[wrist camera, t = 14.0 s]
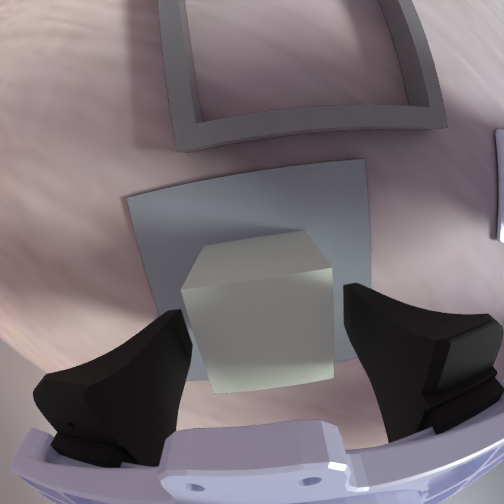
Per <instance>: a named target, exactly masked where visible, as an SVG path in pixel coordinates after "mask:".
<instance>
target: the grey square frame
mask: <svg viewBox="0 0 504 504" xmlns="http://www.w3.org/2000/svg"><path fill="white" fill-rule="evenodd" d="M379 3H380V5H381V8H382V11H383V13H384V16H385V18H386V21H387V24H388V27H389V30H390V33H391V36H392V39H393V42H394V45H395V49H396V52H397V56H398V59H399V63H400V67H401V71H402V75H403V79H404V83H405V88H406V92H407V97H408V102H409V106H403V105H329V106H312V107H300V108H289V109H280V110H272V111H264V112H257V113H250V114H244V115H238V116H232V117H226V118H221V119H216V120H211V121H206V122H203V121H202V115H201V109H200V102H199V96H198V90H197V83H196V77H195V70H194V64H193V57H192V50H191V43H190V36H189V28H188V21H187V13H186V6H185V0H158V11H159V23H160V34H161V44H162V53H163V62H164V70H165V78H166V86H167V93H168V100H169V107H170V114H171V120H172V127H173V133H174V139H175V145H176V151H177V152H185V153H189V152H193V151H198V150H203V149H207V148H212V147H218V146H223V145H228V144H234V143H240V142H246V141H252V140H259V139H266V138H273V137H281V136H289V135H298V134H307V133H318V132H331V131H347V130H371V129H417V130H430V129H441V128H447V121H446V115H445V109H444V104H443V99H442V94H441V89H440V85H439V81H438V77H437V73H436V69H435V65H434V61H433V58H432V55H431V51H430V48H429V45H428V42H427V39H426V36H425V33H424V30H423V27H422V25H421V22H420V20H419V17H418V14H417V12H416V10H415V7H414V5H413V3H412V0H379Z"/></svg>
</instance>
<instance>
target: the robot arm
mask: <svg viewBox="0 0 504 504" xmlns="http://www.w3.org/2000/svg"><path fill="white" fill-rule="evenodd" d="M495 136H496V145H497V156H498V174H499V211H498V229H497V240H498V241H499V242H501V243H504V130H503V129H497V130H496V133H495ZM343 316H344V327H345V330H346V332H347V335H348V338H349V341H350V343H351V345H352V347H353V348H354V350H355V352H356V354H357V356H358V358H359V360H360V362H361V364H362V365H363V367H364V369H365V371H366V373H367V375H368V377H369V379H370V382H371V384H372V387H373V390H374V392H375V395H376V398H377V401H378V404H379V408H380V411H381V414H382V418H383V421H384V425H385V429H386V433H387V437H388V441H389V443H388V444H385V445H382V446H378V447H371V448H362V449H353V450H345V447H344V444H343V440H342V436H341V434H340V432H339V430H338V427H337V426H336V425H333V424H330V423H327V422H324V421H321V420H294V421H288V422H280V423H272V424H263V425H253V426H241V427H223V428H193V429H187V430H180V431H176V424H177V417H178V409H179V404H180V400H181V396H182V393H183V389H184V386H185V382H186V379H187V375H188V371H189V368H190V364H191V357H192V349H193V344H192V341H191V338H190V335H189V332H188V329H187V326H186V323H185V320H184V317H183V314H182V310H181V309H176V310H168V311H166V312H165V313H163V314H162V315H161V316H159V317H158V318H157V319H155V320H154V321H153V322H152V323H150V324H149V325H148V326H147V327H145V328H144V329H143V330H142V331H140V332H139V333H137V334H136V335H135V336H133V337H132V338H131V339H129V340H128V341H126V342H125V343H123V344H122V345H120V346H119V347H117V348H115V349H114V350H112V351H110V352H108V353H106V354H104V355H102V356H100V357H98V358H96V359H94V360H92V361H89V362H87V363H84V364H82V365H79V366H76V367H73V368H70V369H66V370H62V371H58V372H54V373H49V374H46V375H45V376H44V377H43V379H42V380H41V381H40V382H39V384H38V385H37V386H36V388H35V389H34V391H33V398H34V401H35V403H36V406H37V407H38V409H39V410H40V411H41V413H42V414H43V415H44V417H45V418H46V419H47V420H48V422H49V423H50V424H51V425H52V426H53V427H54V429H55V430H56V431H57V434H56V436H55V437H53V436H52V435H50V434H49V433H46V432H44V431H41V430H38V429H35V428H31V429H30V431H29V432H28V434H27V436H26V437H25V439H24V441H23V442H22V444H21V446H20V447H19V449H18V451H17V453H16V454H15V456H14V458H13V460H12V462H11V463H10V465H9V468H10V469H11V470H12V471H13V472H14V473H15V474H16V475H18V476H19V477H20V478H21V479H22V480H23V481H25V482H26V483H27V484H28V485H30V486H31V487H32V488H33V489H35V490H36V491H37V492H39V493H40V494H41V495H43V496H44V497H45V498H47V499H48V500H50V501H52V502H54V503H56V504H438V503H440V502H442V501H444V500H446V499H447V498H449V497H451V496H452V495H454V494H455V493H457V492H459V491H461V490H462V489H464V488H465V487H467V486H468V485H470V484H471V483H473V482H474V481H476V480H477V479H479V478H480V477H481V476H483V475H484V474H486V473H487V472H488V471H490V470H491V469H492V468H494V467H495V466H496V465H498V464H499V463H500V462H502V461H503V460H504V377H503V378H502V379H501V380H500V382H498V380H497V379H496V378H495V376H496V375H497V371H496V369H495V368H494V367H493V364H494V362H495V360H496V357H497V354H498V352H499V349H500V347H501V343H502V339H503V329H502V326H501V325H500V324H499V323H498V322H497V321H496V320H495V319H494V318H493V317H491V316H490V315H489V314H471V315H464V314H450V313H442V312H436V311H430V310H426V309H422V308H418V307H415V306H411V305H408V304H405V303H402V302H400V301H397V300H395V299H392V298H390V297H388V296H385V295H383V294H381V293H379V292H377V291H374V290H372V289H370V288H368V287H366V286H364V285H361V284H359V283H351V284H345V285H343Z"/></svg>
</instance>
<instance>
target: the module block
mask: <svg viewBox="0 0 504 504" xmlns="http://www.w3.org/2000/svg"><path fill="white" fill-rule="evenodd" d="M181 293H182V297H183V300H184V303H185V307H186V310H187V314H188V317H189V320H190V323H191V327H192V330H193V333H194V336H195V339H196V342H197V345H198V348H199V351H200V354H201V357H202V360H203V363H204V366H205V369H206V372H207V375H208V378H209V380H210V383H211V386H212V389H213V391H214V394H219V393H233V392H244V391H254V390H263V389H271V388H279V387H286V386H293V385H299V384H305V383H311V382H316V381H321V380H326V379H331V378H334V300H333V275H332V267H331V265H330V264H329V263H328V261H327V260H326V258H325V257H324V256H323V254H322V253H321V251H320V250H319V249H318V247H317V246H316V245H315V243H314V242H313V241H312V239H311V238H310V237H309V235H308V234H307V232H306V231H305V230H302V231H295V232H289V233H282V234H275V235H269V236H262V237H255V238H249V239H242V240H236V241H230V242H223V243H217V244H211V245H204V247H203V248H202V250H201V252H200V254H199V256H198V258H197V260H196V261H195V263H194V265H193V267H192V269H191V271H190V273H189V275H188V277H187V279H186V280H185V282H184V284H183V286H182V288H181Z"/></svg>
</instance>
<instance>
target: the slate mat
mask: <svg viewBox="0 0 504 504" xmlns="http://www.w3.org/2000/svg"><path fill="white" fill-rule="evenodd" d="M127 202H128V207H129V211H130V216H131V220H132V224H133V228H134V232H135V236H136V240H137V243H138V247H139V251H140V255H141V258H142V262H143V265H144V268H145V272H146V275H147V279H148V282H149V285H150V288H151V291H152V294H153V297H154V301H155V304H156V307H157V309H158V312H159V315H160V316H161V315H162V314H163V313H165V312H166V311H168V310H176V309H181V310H182V314H183V317H184V320H185V323H186V326H187V329H188V332H189V335H190V338H191V341H192V344H193V349H192V357H191V364H190V368H189V371H188V375H187V379H186V381H198V380H209V378H208V375H207V372H206V369H205V366H204V363H203V360H202V357H201V354H200V351H199V348H198V345H197V342H196V339H195V336H194V333H193V330H192V327H191V323H190V320H189V317H188V314H187V310H186V307H185V303H184V300H183V297H182V293H181V288H182V286H183V284H184V282H185V280H186V279H187V277H188V275H189V273H190V271H191V269H192V267H193V265H194V263H195V261H196V260H197V258H198V256H199V254H200V252H201V250H202V248H203V247H204V245H211V244H217V243H223V242H230V241H236V240H242V239H249V238H255V237H262V236H269V235H275V234H282V233H289V232H295V231H302V230H305V231H306V232H307V234H308V235H309V237H310V238H311V239H312V241H313V242H314V243H315V245H316V246H317V247H318V249H319V250H320V251H321V253H322V254H323V256H324V257H325V258H326V260H327V261H328V263H329V264H330V265H331V267H332V275H333V300H334V363H336V362H341V361H345V360H350V359H354V358H358V356H357V354H356V352H355V350H354V348H353V347H352V345H351V343H350V341H349V338H348V335H347V332H346V330H345V327H344V316H343V285H345V284H351V283H359V284H361V285H364V286H366V287H368V288H370V289H371V238H370V216H369V201H368V189H367V178H366V169H365V160H364V159H352V160H340V161H330V162H320V163H311V164H302V165H294V166H287V167H279V168H272V169H265V170H259V171H252V172H246V173H240V174H234V175H229V176H223V177H218V178H212V179H207V180H202V181H197V182H192V183H187V184H182V185H178V186H173V187H169V188H164V189H160V190H156V191H152V192H147V193H143V194H139V195H135V196H131V197H128V198H127Z"/></svg>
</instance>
